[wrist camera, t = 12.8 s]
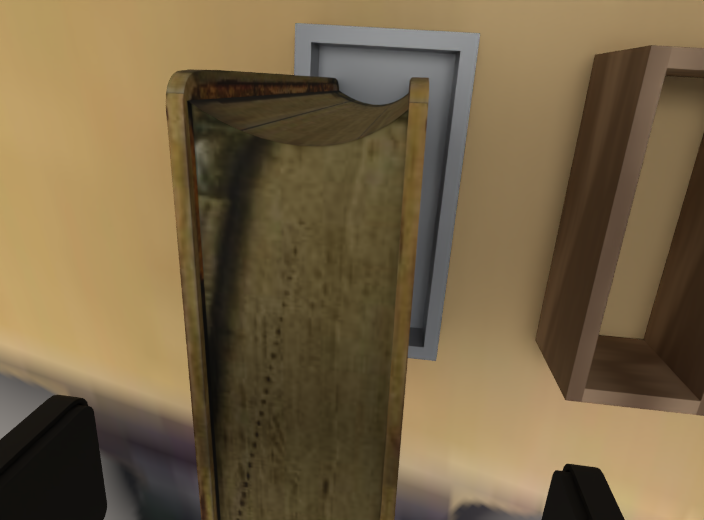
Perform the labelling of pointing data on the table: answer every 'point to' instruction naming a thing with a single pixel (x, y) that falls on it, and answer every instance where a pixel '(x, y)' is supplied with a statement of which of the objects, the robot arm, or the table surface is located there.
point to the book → (295, 288)
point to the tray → (441, 133)
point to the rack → (605, 244)
